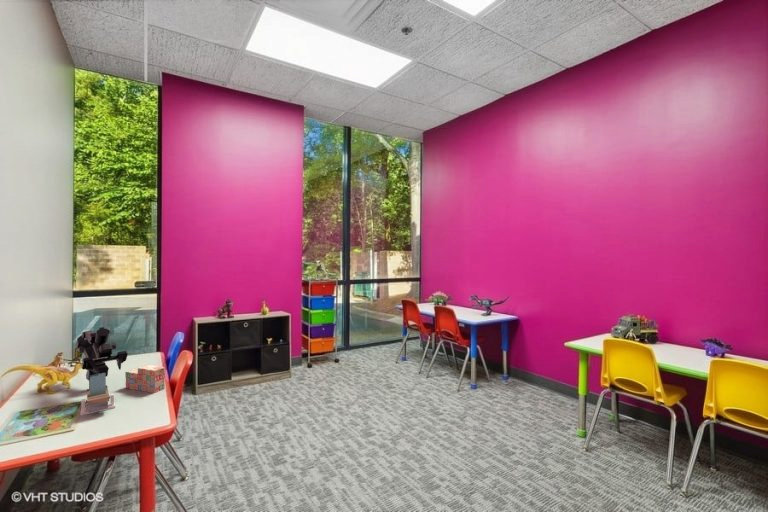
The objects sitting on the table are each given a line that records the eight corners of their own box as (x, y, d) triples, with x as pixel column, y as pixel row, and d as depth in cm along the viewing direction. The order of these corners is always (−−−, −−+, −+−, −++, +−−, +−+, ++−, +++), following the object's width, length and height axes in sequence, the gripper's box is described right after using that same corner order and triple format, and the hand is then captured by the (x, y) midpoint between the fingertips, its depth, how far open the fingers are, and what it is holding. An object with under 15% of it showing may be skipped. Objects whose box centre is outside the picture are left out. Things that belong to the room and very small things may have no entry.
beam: (86, 401, 185) (86, 390, 186) (108, 396, 191) (108, 386, 191) (85, 413, 166) (85, 401, 166) (110, 407, 172) (110, 396, 172)
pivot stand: (80, 411, 174) (80, 399, 173) (114, 404, 182) (114, 392, 182) (80, 415, 170) (80, 402, 170) (115, 407, 178) (115, 395, 178)
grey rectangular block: (90, 394, 178) (89, 375, 179) (105, 391, 182) (105, 372, 183) (89, 396, 174) (89, 376, 175) (105, 393, 178) (105, 374, 179)
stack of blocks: (125, 388, 203) (125, 366, 202) (136, 384, 209) (135, 362, 208) (154, 393, 196) (154, 370, 196) (165, 389, 202) (164, 366, 202)
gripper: (81, 342, 185) (88, 364, 177) (125, 335, 199) (133, 355, 191) (78, 358, 189) (85, 380, 181) (121, 350, 203) (129, 371, 195)
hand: (109, 371), depth 187 cm, fingers open, 9 cm apart
